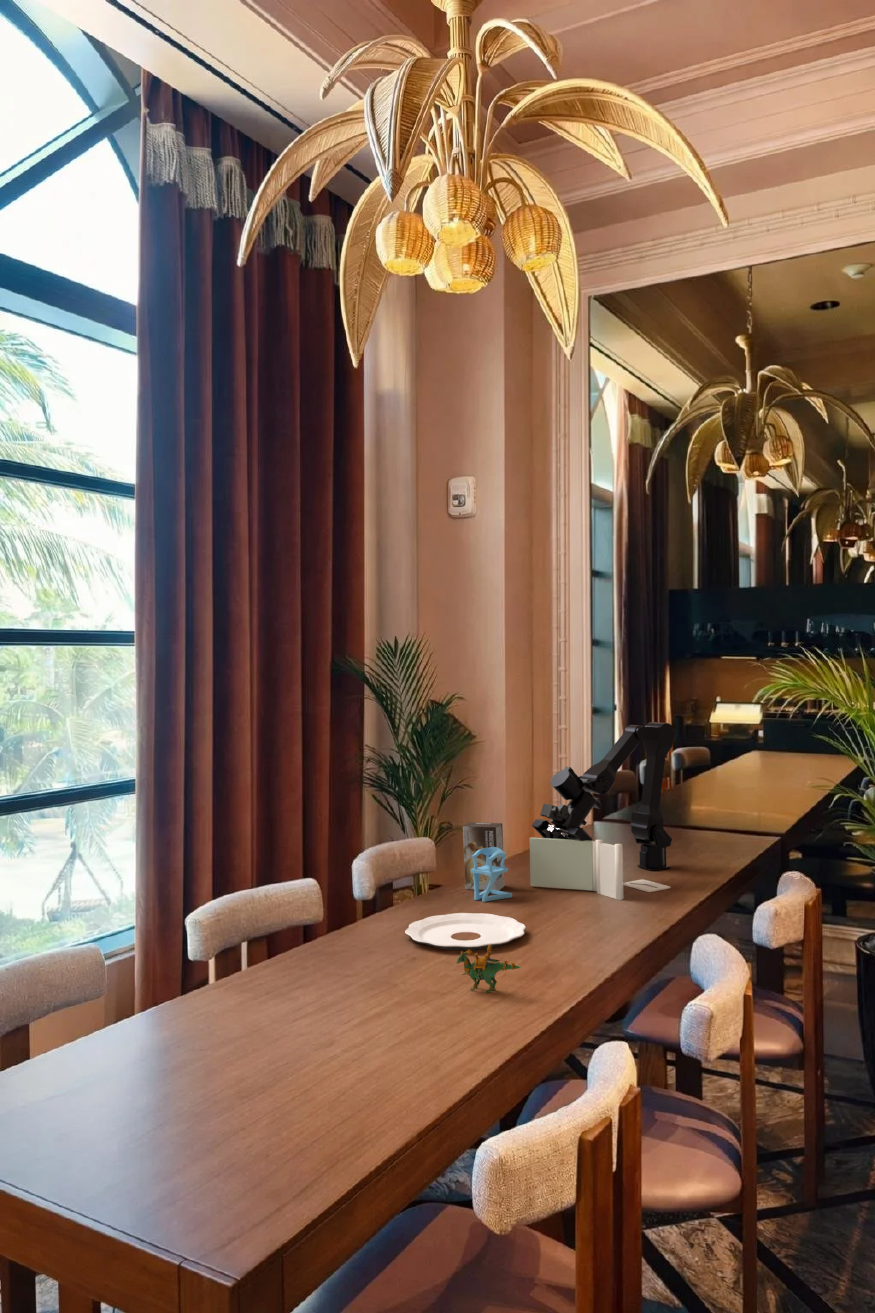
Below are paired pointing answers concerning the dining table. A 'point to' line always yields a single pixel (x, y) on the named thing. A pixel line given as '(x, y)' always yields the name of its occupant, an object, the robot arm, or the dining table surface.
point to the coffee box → (475, 840)
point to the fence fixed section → (609, 869)
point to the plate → (465, 930)
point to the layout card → (646, 885)
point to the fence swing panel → (563, 863)
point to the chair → (489, 874)
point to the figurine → (483, 968)
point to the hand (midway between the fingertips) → (543, 860)
